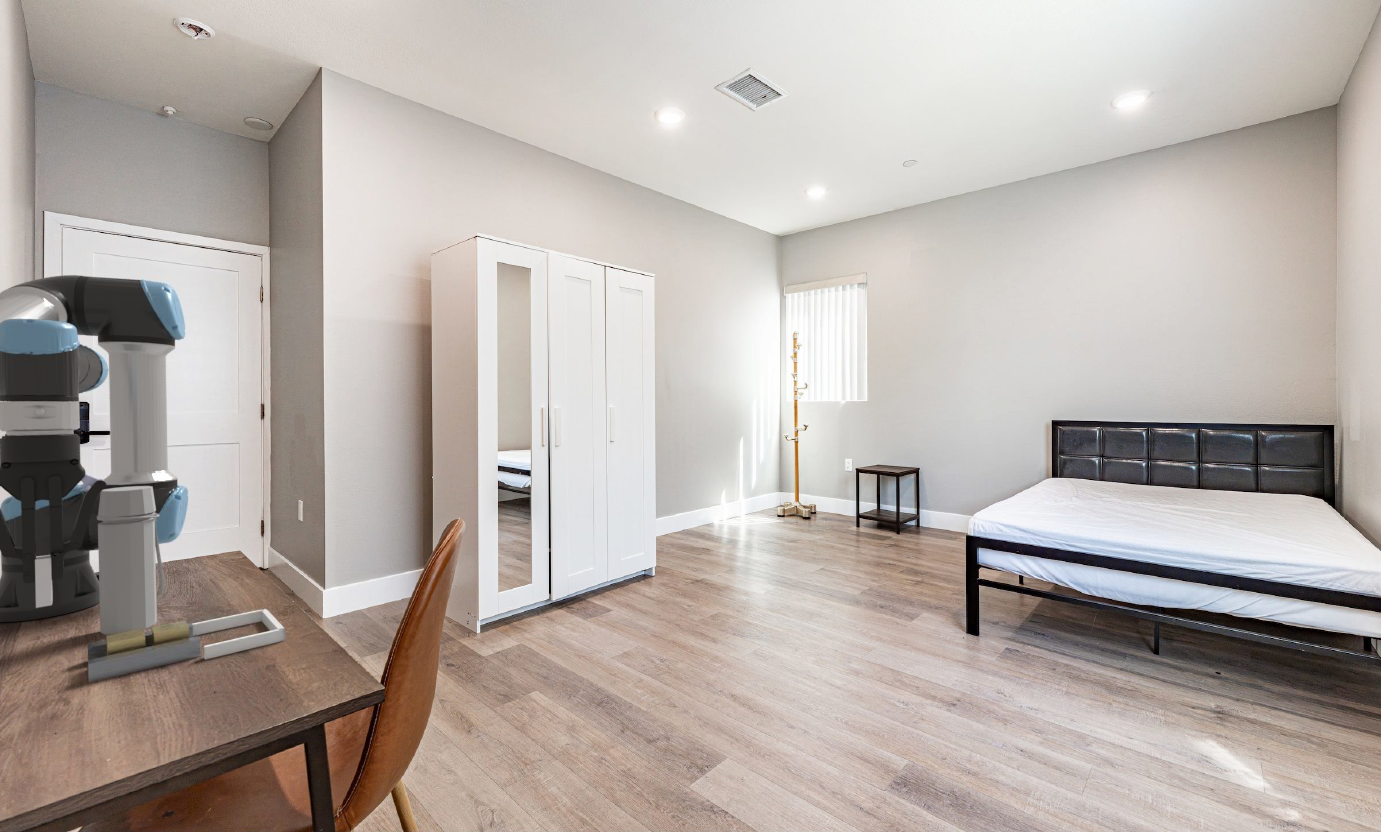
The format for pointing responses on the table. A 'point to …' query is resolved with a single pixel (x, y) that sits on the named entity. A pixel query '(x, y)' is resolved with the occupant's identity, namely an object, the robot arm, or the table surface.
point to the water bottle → (128, 559)
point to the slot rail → (139, 656)
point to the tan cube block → (125, 641)
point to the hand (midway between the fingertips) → (44, 604)
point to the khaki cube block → (170, 632)
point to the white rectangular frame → (244, 642)
